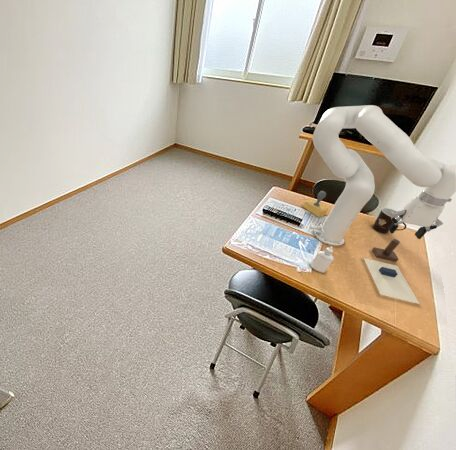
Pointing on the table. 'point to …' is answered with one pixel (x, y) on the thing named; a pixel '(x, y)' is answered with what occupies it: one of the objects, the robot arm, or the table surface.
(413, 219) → the robot arm
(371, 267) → the tile
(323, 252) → the eye dropper bottle
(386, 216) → the coffee mug
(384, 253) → the handled square plate
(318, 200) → the rubber stamp
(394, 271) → the eraser
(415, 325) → the table surface
